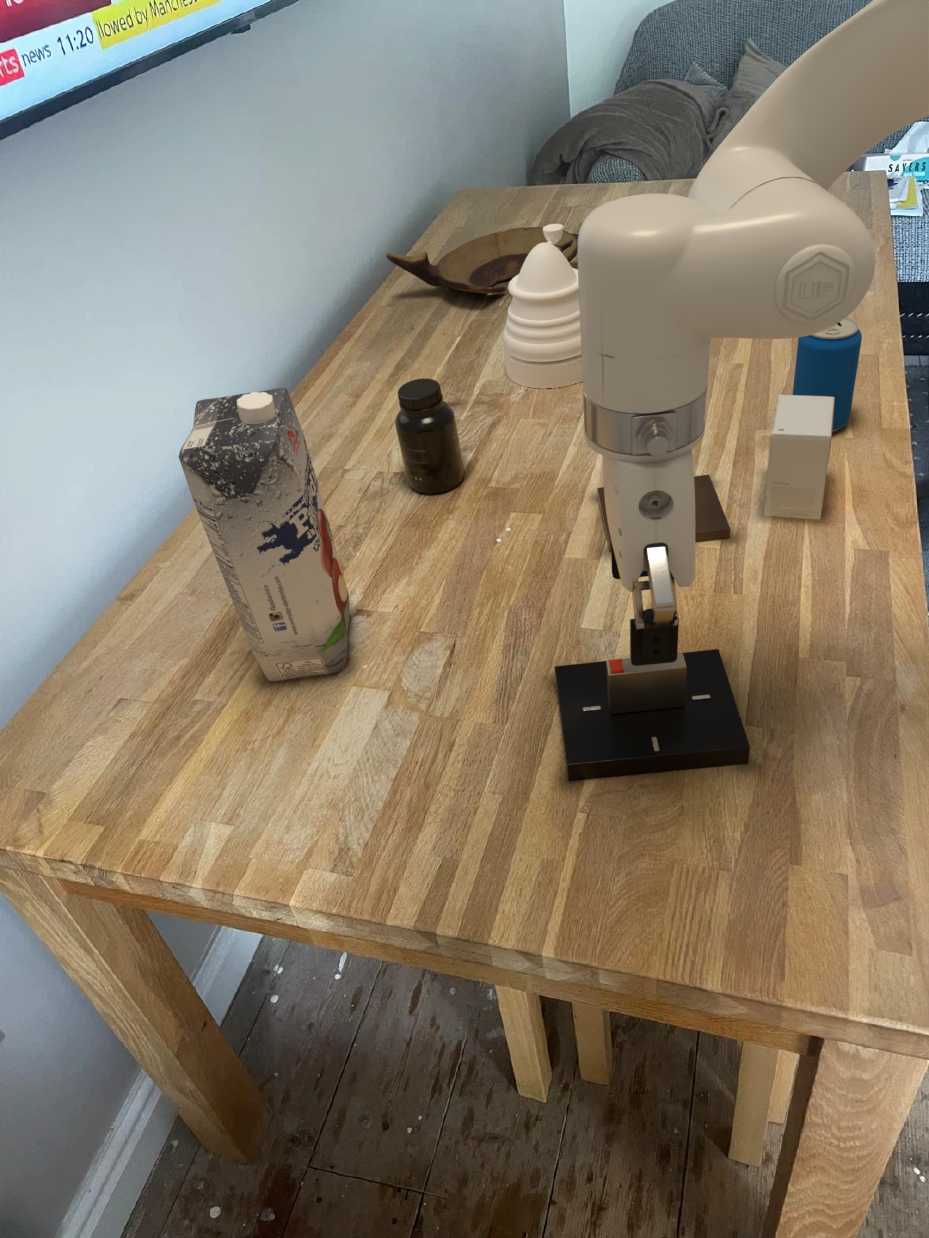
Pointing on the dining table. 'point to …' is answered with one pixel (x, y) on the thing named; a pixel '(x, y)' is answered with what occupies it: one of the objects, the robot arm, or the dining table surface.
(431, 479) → the supplement bottle
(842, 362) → the beverage can
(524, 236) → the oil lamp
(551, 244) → the honey pot
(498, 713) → the dining table surface
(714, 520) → the button block
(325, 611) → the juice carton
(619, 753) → the console
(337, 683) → the dining table surface
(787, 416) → the small box
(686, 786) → the dining table surface
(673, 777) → the dining table surface
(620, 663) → the knob
